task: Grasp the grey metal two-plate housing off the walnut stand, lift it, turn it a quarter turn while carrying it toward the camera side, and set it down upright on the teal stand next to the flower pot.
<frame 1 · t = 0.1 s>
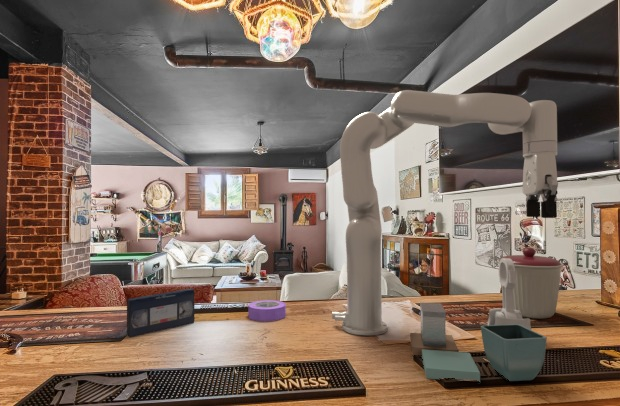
hand: (540, 217, 95), 31 cm above the table, tool pointing down, fingers open, 9 cm apart
masking tape: (267, 316, 117), on the table
canister: (529, 315, 117), on the table
flower pot: (512, 376, 75), on the table
vhs cassette tape: (162, 329, 105), on the table
stand a: (432, 349, 89), on the table
housing: (432, 340, 89), point 2 cm above the table, touching stand a
engine component: (508, 338, 96), on the table
stand b: (448, 369, 77), on the table
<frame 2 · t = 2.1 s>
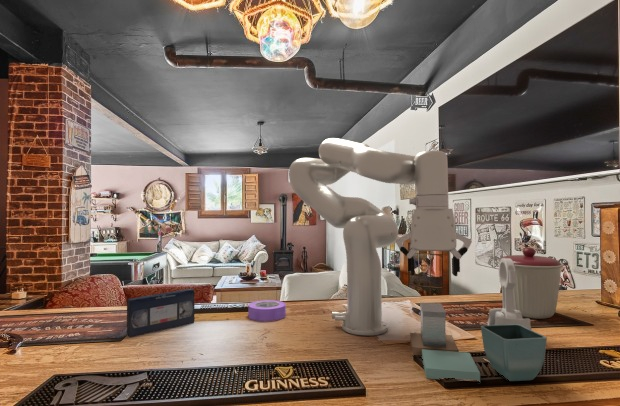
hand: (433, 274, 89), 18 cm above the table, tool pointing down, fingers open, 9 cm apart
nothing on the table moved.
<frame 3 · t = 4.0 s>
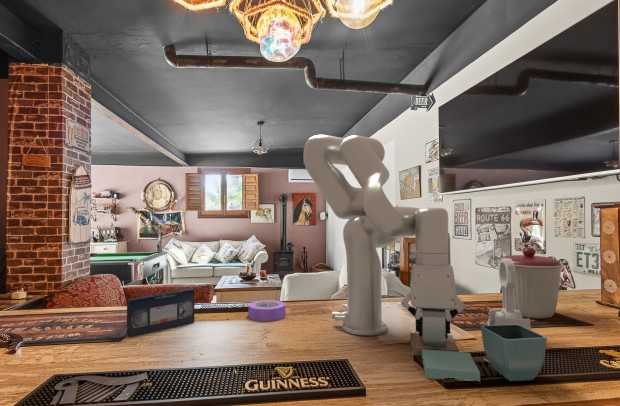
hand: (432, 334, 89), 3 cm above the table, tool pointing down, fingers closed on housing, 5 cm apart
housing: (432, 340, 89), point 2 cm above the table, touching gripper, stand a
everything else where it was.
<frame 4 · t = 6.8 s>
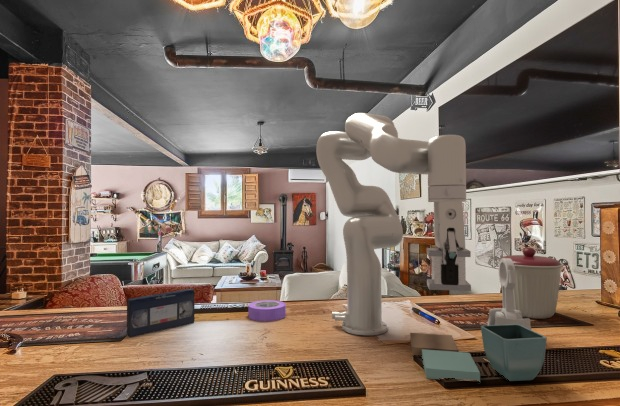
hand: (447, 280, 78), 18 cm above the table, tool pointing down, fingers closed on housing, 5 cm apart
housing: (448, 287, 78), point 17 cm above the table, touching gripper
everything else where it was.
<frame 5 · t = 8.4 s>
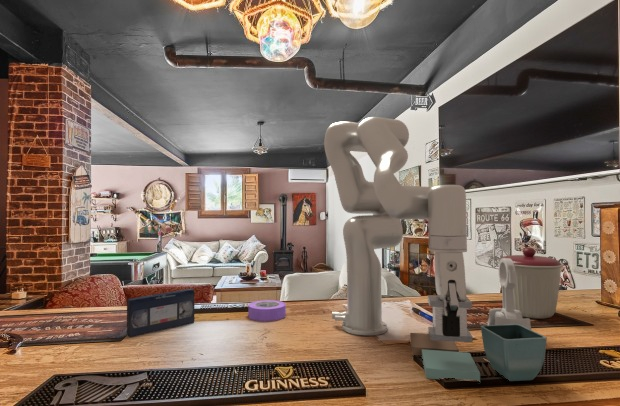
hand: (449, 330, 77), 8 cm above the table, tool pointing down, fingers closed on housing, 5 cm apart
housing: (449, 337, 77), point 7 cm above the table, touching gripper
everything else where it was.
when the fingers open (5 cm above the table, at t = 9.6 s): housing drops 1 cm, resting on stand b.
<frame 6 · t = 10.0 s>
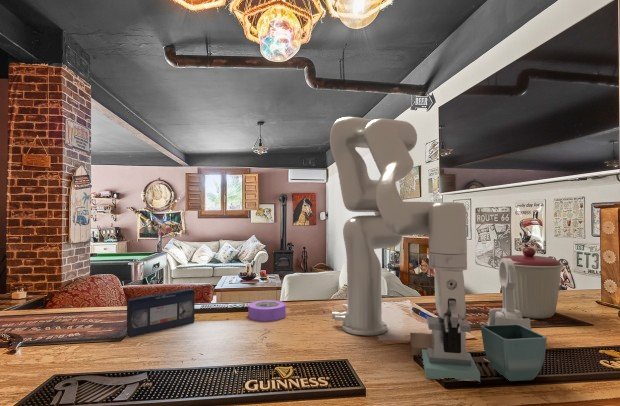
hand: (448, 343, 78), 5 cm above the table, tool pointing down, fingers open, 9 cm apart
housing: (448, 359, 78), point 2 cm above the table, touching stand b
everything else where it was.
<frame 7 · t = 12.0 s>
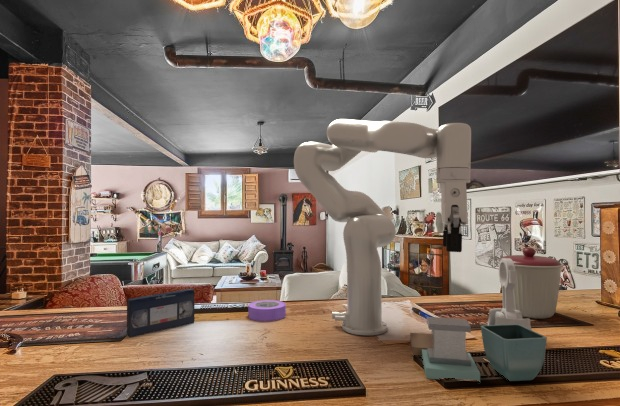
hand: (451, 249, 88), 24 cm above the table, tool pointing down, fingers open, 9 cm apart
nothing on the table moved.
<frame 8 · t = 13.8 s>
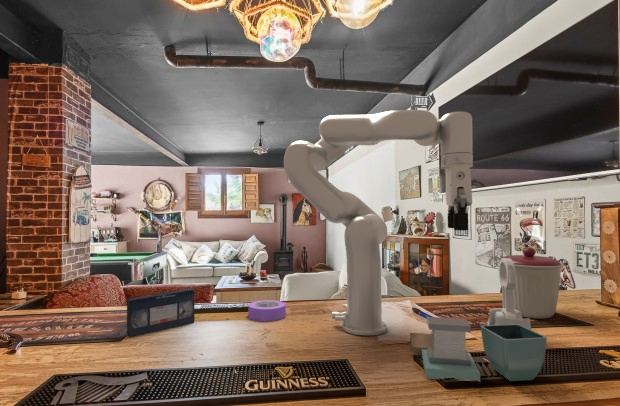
hand: (457, 229, 94), 28 cm above the table, tool pointing down, fingers open, 9 cm apart
nothing on the table moved.
at the end: housing inside the target area on the stand b (0.1 cm from its centre), point 2.0 cm above the stand b's base; housing tilted 0°; the gripper is holding nothing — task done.
